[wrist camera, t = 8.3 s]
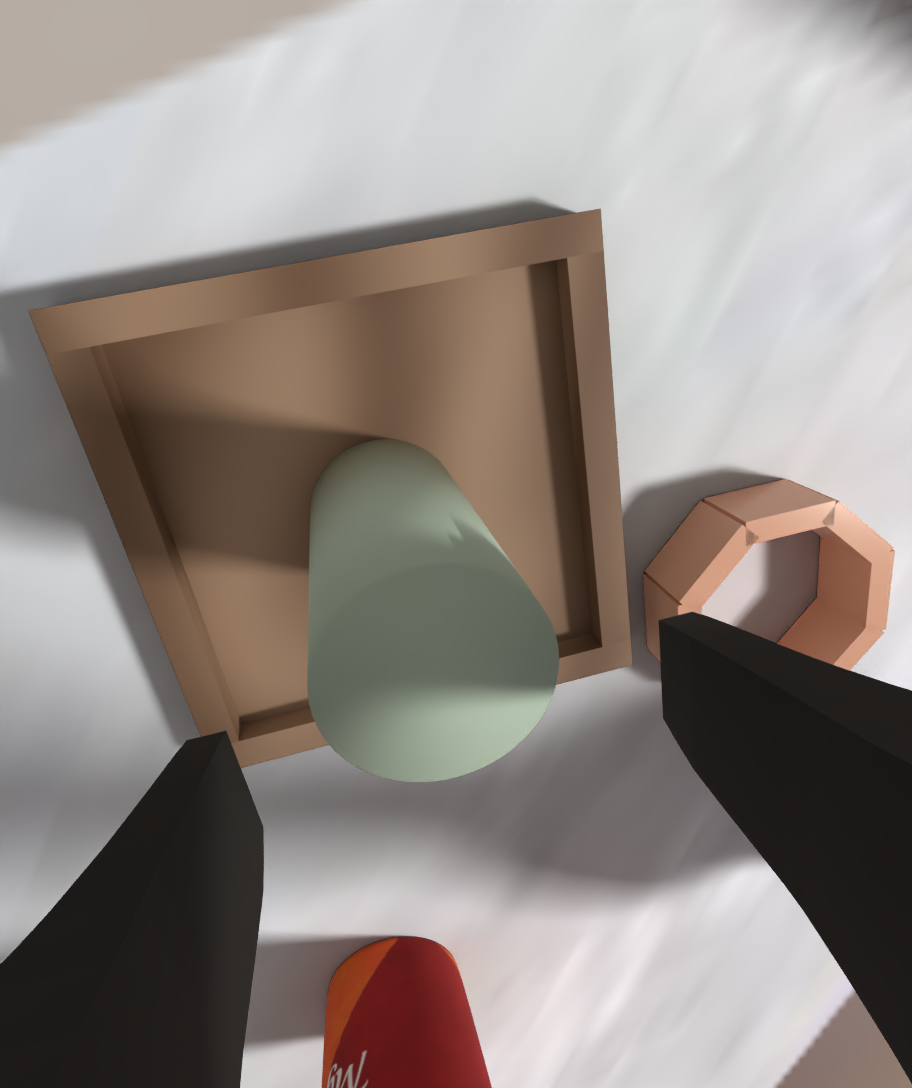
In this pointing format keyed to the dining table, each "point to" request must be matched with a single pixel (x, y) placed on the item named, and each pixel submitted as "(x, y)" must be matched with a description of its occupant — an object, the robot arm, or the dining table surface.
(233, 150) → the dining table surface
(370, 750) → the green pin
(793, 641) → the orange octagonal ring
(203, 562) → the serving tray
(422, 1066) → the paper cup
